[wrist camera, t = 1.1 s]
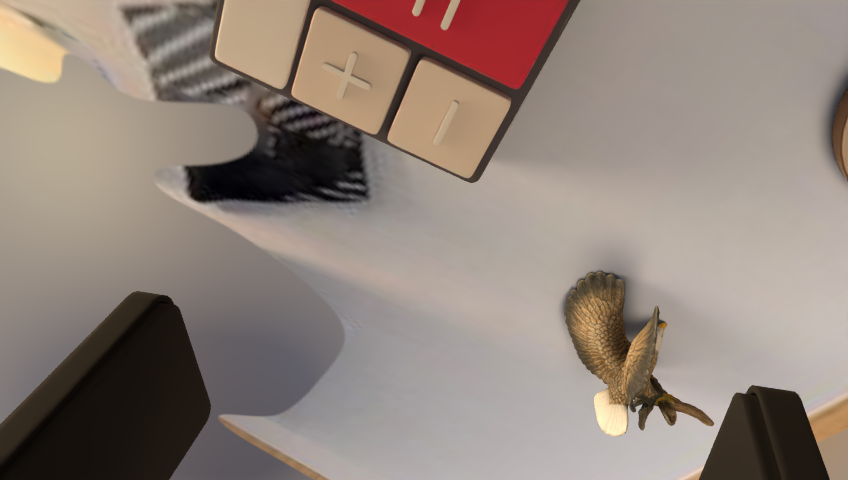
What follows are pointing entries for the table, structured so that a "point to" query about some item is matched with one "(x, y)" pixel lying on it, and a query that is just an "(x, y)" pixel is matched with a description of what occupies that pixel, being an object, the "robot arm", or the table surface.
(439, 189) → the table surface
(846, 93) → the peg stand
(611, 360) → the eagle figurine
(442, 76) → the calculator
